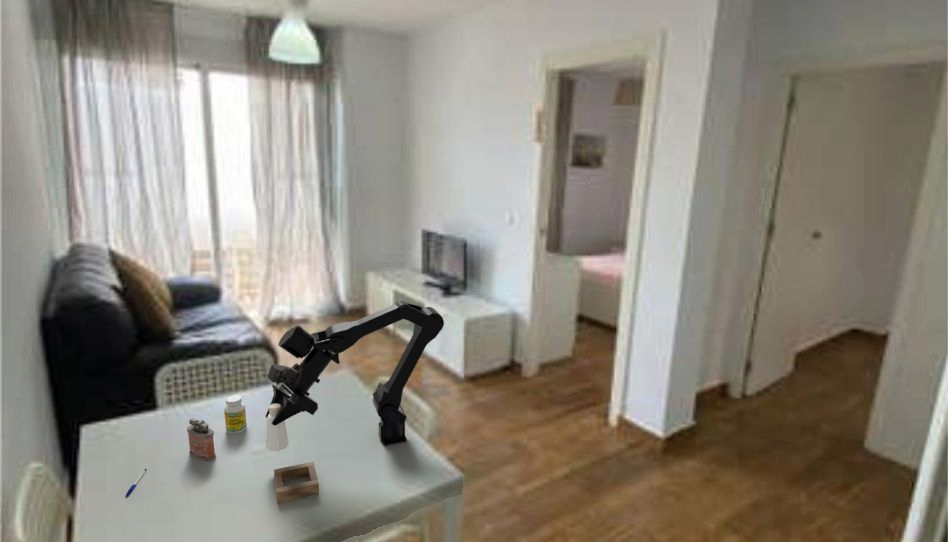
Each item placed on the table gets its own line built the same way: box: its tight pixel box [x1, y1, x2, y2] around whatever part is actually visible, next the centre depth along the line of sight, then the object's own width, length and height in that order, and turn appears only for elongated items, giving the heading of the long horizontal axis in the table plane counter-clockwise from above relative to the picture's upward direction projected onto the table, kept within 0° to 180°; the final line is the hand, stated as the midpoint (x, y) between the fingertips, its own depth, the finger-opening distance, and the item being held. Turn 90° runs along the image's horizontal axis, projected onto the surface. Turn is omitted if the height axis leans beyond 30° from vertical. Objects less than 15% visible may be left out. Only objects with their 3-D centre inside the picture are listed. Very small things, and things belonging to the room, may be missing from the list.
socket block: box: [273, 461, 320, 505], centre depth 125 cm, size 9×9×3 cm
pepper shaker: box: [265, 404, 289, 452], centre depth 131 cm, size 5×5×11 cm
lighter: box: [186, 417, 217, 463], centre depth 135 cm, size 8×3×10 cm, turn 65°
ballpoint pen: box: [125, 468, 148, 498], centre depth 125 cm, size 10×1×1 cm, turn 12°
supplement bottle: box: [223, 394, 248, 435], centre depth 148 cm, size 5×5×10 cm
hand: (270, 421), depth 129 cm, fingers closed on pepper shaker, 4 cm apart
